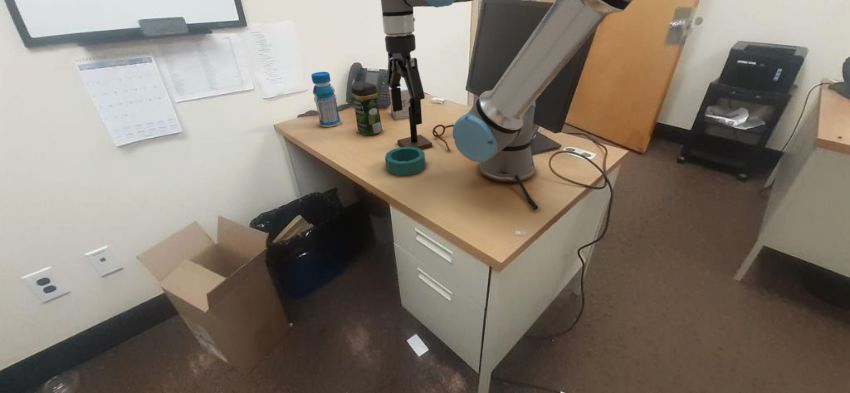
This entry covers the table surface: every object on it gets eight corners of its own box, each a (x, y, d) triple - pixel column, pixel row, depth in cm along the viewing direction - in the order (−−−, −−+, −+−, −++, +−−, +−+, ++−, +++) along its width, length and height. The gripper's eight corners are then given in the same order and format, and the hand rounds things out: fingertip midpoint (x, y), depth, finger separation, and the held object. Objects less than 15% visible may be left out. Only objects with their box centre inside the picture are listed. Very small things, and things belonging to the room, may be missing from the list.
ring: (431, 169, 103) (430, 157, 101) (395, 179, 99) (394, 167, 97) (415, 155, 112) (414, 143, 110) (381, 164, 108) (380, 152, 106)
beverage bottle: (330, 128, 137) (319, 76, 127) (315, 125, 141) (303, 75, 131) (345, 122, 143) (336, 71, 133) (330, 119, 147) (320, 70, 136)
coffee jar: (354, 131, 133) (346, 82, 123) (372, 126, 137) (365, 77, 128) (367, 138, 127) (359, 86, 117) (385, 132, 131) (379, 82, 121)
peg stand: (432, 147, 117) (430, 107, 110) (408, 153, 114) (404, 113, 107) (420, 138, 124) (418, 100, 117) (397, 143, 121) (393, 105, 114)
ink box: (390, 113, 149) (387, 86, 142) (409, 111, 151) (407, 83, 144) (395, 120, 142) (392, 91, 135) (415, 117, 144) (413, 88, 137)
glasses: (465, 131, 127) (465, 118, 125) (483, 144, 117) (483, 129, 114) (432, 138, 123) (431, 125, 121) (448, 152, 113) (448, 137, 110)
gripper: (436, 37, 77) (439, 127, 89) (395, 28, 97) (402, 103, 108) (405, 41, 75) (412, 134, 86) (369, 31, 94) (379, 108, 105)
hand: (406, 117), depth 97 cm, fingers open, 13 cm apart
